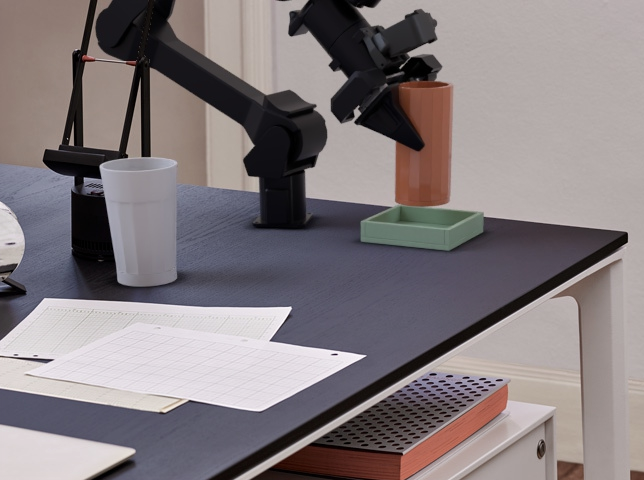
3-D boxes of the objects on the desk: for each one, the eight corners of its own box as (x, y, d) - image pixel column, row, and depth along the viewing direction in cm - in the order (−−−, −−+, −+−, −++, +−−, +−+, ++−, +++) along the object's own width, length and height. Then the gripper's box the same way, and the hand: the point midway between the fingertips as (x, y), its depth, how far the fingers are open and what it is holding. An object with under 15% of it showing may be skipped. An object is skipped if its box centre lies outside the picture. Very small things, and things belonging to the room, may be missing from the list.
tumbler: (385, 198, 159) (386, 83, 153) (433, 193, 161) (436, 79, 156) (410, 208, 154) (412, 89, 148) (459, 203, 156) (463, 85, 150)
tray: (360, 241, 158) (360, 221, 157) (398, 224, 166) (398, 204, 165) (449, 251, 153) (449, 229, 152) (483, 232, 161) (484, 211, 160)
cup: (148, 265, 149) (139, 154, 144) (200, 276, 145) (193, 162, 140) (94, 281, 144) (83, 166, 139) (146, 292, 139) (137, 174, 134)
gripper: (354, -9, 142) (448, 106, 142) (428, -20, 157) (513, 84, 156) (291, 66, 149) (381, 176, 149) (367, 49, 163) (449, 149, 163)
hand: (434, 144), depth 154 cm, fingers closed on tumbler, 6 cm apart
